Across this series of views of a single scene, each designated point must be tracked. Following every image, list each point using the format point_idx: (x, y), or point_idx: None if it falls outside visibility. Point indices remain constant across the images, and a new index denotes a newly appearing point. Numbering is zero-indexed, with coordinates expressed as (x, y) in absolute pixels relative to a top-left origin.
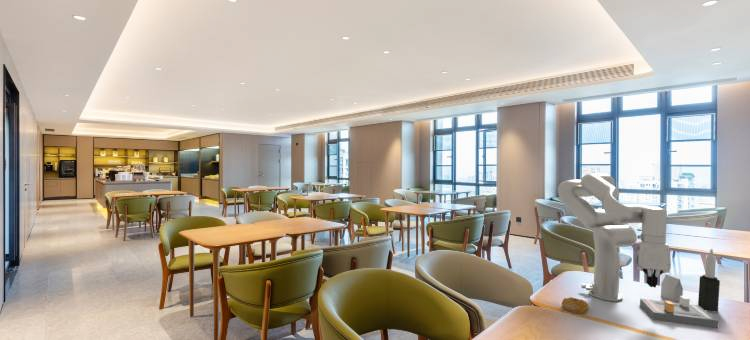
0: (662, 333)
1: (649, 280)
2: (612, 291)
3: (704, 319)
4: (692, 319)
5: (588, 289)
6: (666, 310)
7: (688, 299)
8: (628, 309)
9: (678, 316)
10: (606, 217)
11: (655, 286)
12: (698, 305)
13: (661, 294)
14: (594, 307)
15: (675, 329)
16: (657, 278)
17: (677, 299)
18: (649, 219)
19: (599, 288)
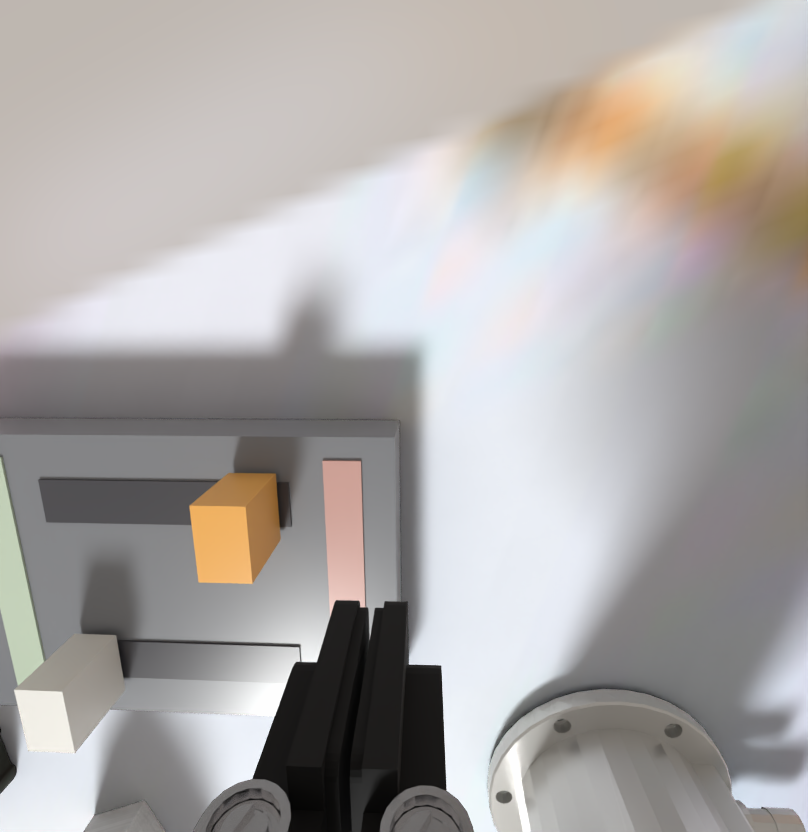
0: (424, 148)
1: (422, 714)
2: (608, 784)
3: (28, 433)
4: (118, 429)
5: (776, 811)
6: (275, 494)
7: (25, 688)
8: (518, 571)
9: (210, 433)
10: None
11: (340, 606)
12: (8, 774)
13: None
14: (797, 524)
15: (292, 283)
16: (256, 770)
17: (111, 826)
18: None
19: (716, 815)
